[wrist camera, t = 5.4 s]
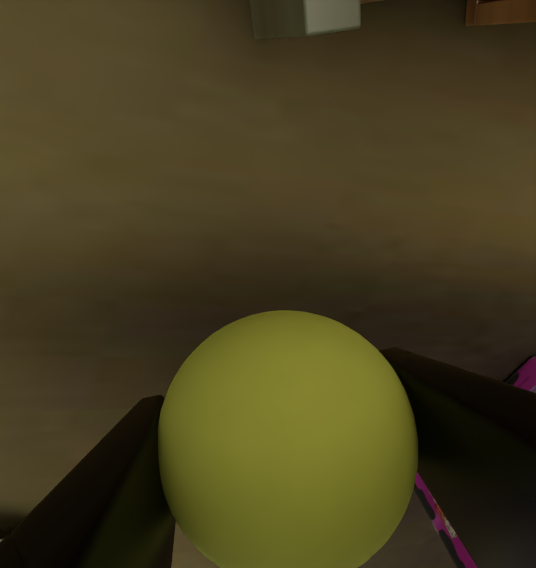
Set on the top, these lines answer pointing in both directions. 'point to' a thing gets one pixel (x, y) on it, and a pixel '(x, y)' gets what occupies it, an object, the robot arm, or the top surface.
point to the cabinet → (500, 12)
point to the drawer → (304, 17)
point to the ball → (287, 445)
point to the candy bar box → (527, 377)
